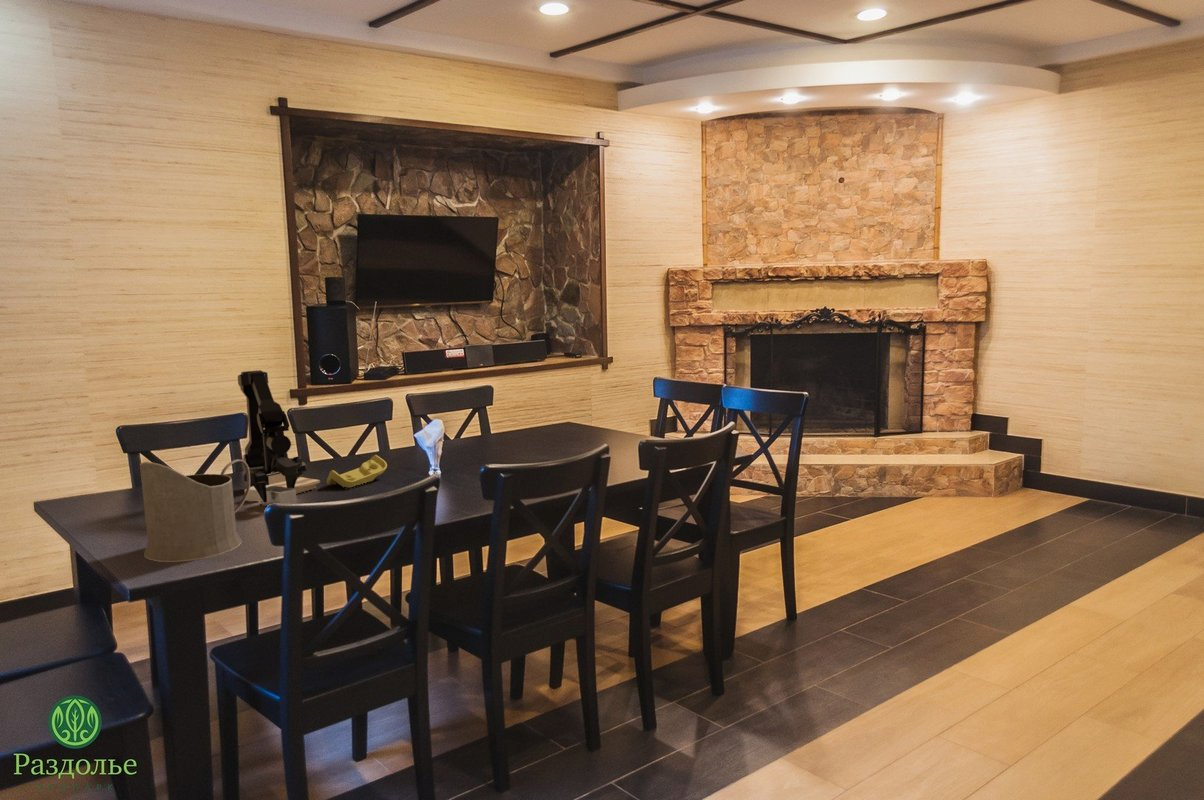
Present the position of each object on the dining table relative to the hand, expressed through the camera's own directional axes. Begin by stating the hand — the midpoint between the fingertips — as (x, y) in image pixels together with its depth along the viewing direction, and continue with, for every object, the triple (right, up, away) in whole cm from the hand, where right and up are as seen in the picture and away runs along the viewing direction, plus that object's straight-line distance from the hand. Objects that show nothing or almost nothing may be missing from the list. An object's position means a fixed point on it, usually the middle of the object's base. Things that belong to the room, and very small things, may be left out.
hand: (278, 498), depth 278 cm
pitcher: (-5, -8, -38) cm, 39 cm away
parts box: (-9, -1, +8) cm, 12 cm away
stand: (-1, 0, +16) cm, 17 cm away
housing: (0, -2, 0) cm, 2 cm away
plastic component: (+18, +2, +28) cm, 33 cm away
